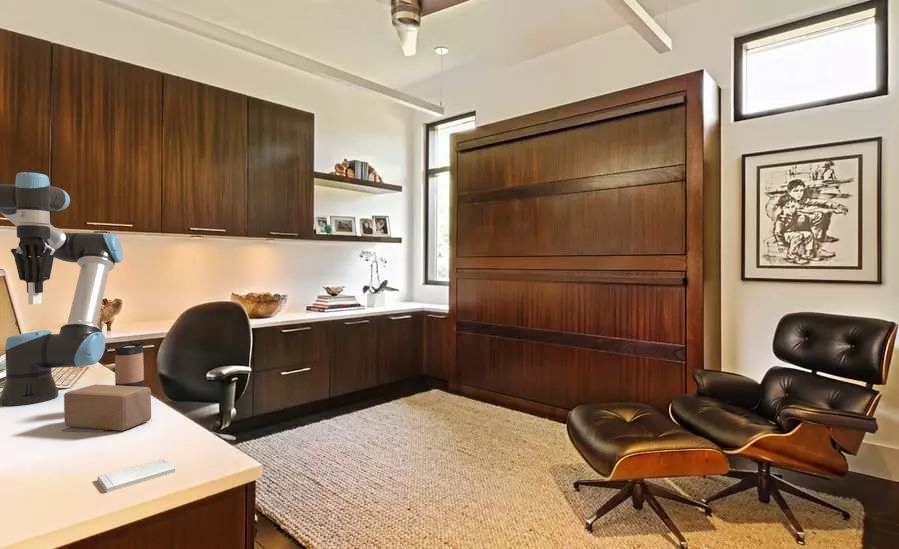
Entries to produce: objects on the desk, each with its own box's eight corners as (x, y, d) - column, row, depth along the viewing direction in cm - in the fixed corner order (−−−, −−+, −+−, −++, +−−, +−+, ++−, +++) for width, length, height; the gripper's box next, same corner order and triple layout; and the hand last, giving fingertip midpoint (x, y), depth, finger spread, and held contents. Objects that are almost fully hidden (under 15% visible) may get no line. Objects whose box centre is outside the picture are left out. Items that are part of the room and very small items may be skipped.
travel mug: (150, 405, 153) (148, 344, 153) (127, 412, 146) (126, 348, 146) (133, 403, 156) (132, 343, 156) (109, 409, 149) (108, 347, 148)
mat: (62, 431, 129) (62, 430, 129) (106, 414, 144) (106, 413, 144) (102, 432, 128) (102, 431, 128) (143, 415, 143) (143, 414, 143)
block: (62, 427, 131) (123, 432, 127) (62, 392, 131) (122, 395, 127) (95, 416, 141) (152, 420, 137) (95, 383, 141) (152, 386, 137)
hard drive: (163, 457, 108) (97, 474, 99) (175, 467, 103) (106, 487, 94) (163, 464, 108) (97, 482, 99) (175, 475, 103) (106, 495, 94)
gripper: (0, 224, 137) (2, 305, 137) (41, 223, 136) (43, 305, 136) (26, 226, 144) (27, 303, 145) (65, 226, 143) (66, 303, 144)
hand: (35, 304), depth 140 cm, fingers closed
